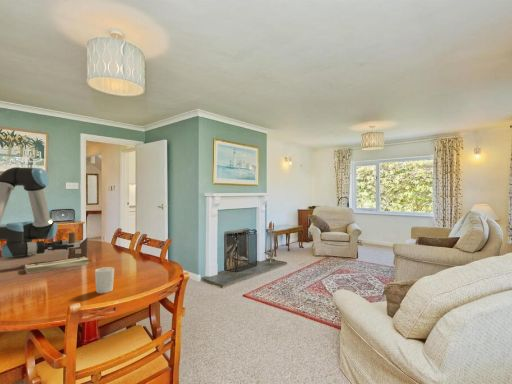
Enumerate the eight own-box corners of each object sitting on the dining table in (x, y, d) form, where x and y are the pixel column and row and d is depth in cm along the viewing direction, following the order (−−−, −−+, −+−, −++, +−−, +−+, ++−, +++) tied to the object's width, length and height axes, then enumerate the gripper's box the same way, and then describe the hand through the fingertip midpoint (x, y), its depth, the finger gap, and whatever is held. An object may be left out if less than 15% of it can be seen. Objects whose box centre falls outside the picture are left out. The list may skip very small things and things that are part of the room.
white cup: (99, 288, 133) (99, 267, 133) (116, 287, 134) (117, 266, 134) (91, 294, 125) (91, 271, 125) (109, 293, 126) (109, 271, 126)
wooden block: (86, 259, 187) (87, 232, 187) (67, 260, 183) (67, 233, 183) (87, 257, 191) (87, 231, 191) (68, 259, 186) (69, 232, 186)
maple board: (24, 270, 160) (24, 264, 160) (84, 261, 182) (84, 256, 182) (27, 274, 153) (27, 268, 153) (88, 264, 175) (88, 259, 175)
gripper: (32, 250, 178) (71, 246, 193) (39, 257, 161) (81, 252, 176) (32, 238, 178) (71, 235, 193) (39, 244, 160) (82, 240, 176)
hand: (76, 243), depth 184 cm, fingers open, 13 cm apart
